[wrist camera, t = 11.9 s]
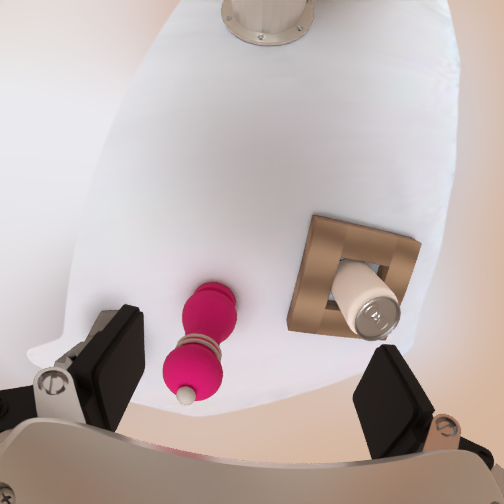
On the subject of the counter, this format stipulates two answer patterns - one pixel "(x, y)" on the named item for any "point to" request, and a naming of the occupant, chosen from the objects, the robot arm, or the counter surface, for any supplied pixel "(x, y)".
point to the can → (365, 300)
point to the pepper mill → (201, 344)
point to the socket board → (325, 266)
